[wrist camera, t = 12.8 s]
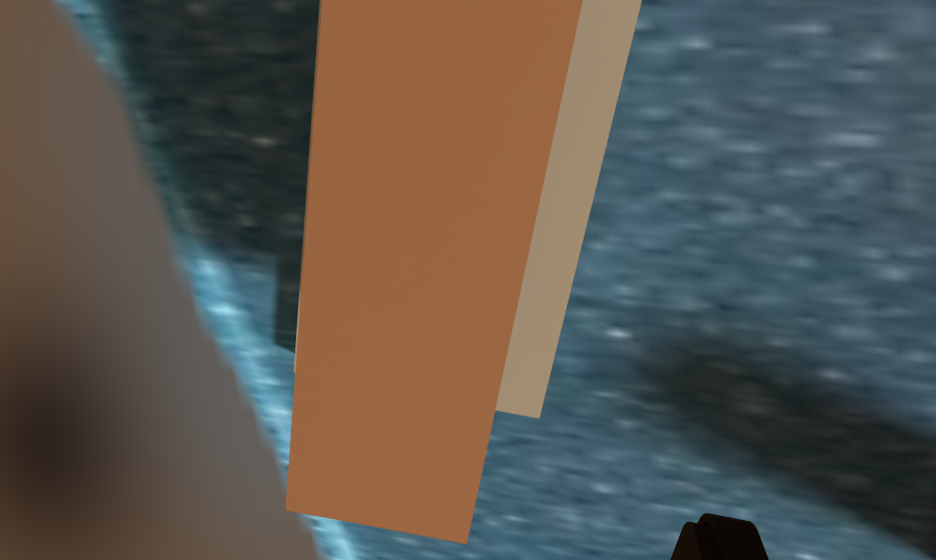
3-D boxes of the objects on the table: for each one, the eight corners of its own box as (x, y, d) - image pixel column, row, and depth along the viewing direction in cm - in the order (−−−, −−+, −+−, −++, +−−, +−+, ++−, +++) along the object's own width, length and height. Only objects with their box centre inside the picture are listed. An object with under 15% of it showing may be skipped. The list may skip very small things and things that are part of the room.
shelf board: (376, -181, 18) (337, -219, 15) (601, -141, 18) (618, -169, 15) (319, 436, 27) (285, 509, 23) (475, 465, 27) (466, 544, 23)
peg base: (345, -210, 26) (335, -220, 24) (672, -152, 25) (680, -159, 24) (303, 357, 35) (293, 373, 34) (538, 400, 35) (539, 418, 34)
